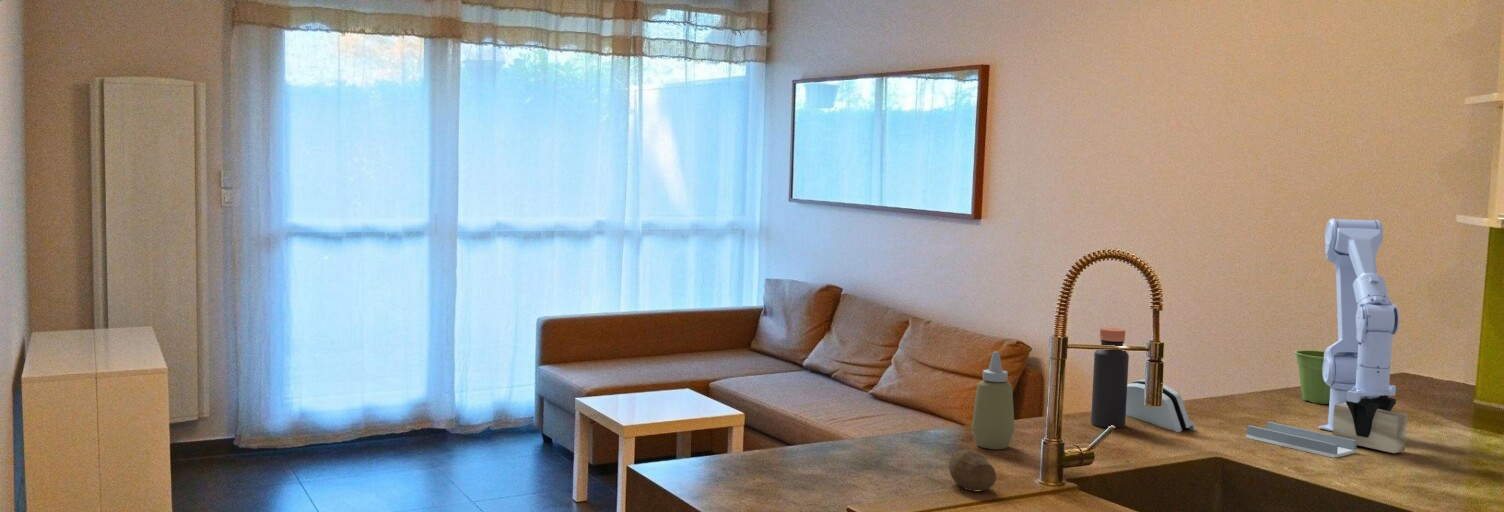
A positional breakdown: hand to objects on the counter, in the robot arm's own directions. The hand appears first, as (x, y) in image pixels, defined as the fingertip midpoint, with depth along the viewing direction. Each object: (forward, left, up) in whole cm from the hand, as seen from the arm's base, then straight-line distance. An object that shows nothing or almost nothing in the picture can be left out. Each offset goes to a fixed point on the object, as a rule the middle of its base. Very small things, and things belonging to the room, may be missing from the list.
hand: (1368, 435), depth 225 cm
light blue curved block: (+19, -35, -3) cm, 40 cm away
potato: (+89, -19, -3) cm, 91 cm away
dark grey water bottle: (+30, -38, -3) cm, 49 cm away
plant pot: (-36, -30, -3) cm, 47 cm away
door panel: (0, 0, -2) cm, 2 cm away
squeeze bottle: (+65, -37, -3) cm, 75 cm away
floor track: (+10, -8, -3) cm, 13 cm away
